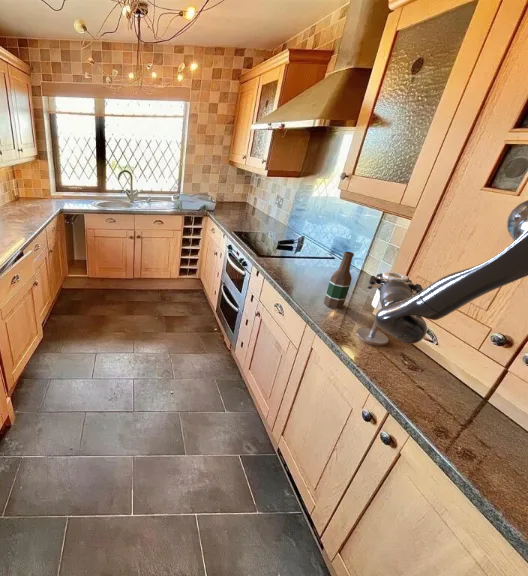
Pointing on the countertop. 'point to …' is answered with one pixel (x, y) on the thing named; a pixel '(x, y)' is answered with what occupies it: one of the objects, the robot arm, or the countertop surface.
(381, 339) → the towel stand
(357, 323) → the countertop surface
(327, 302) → the beer bottle
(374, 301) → the paper roll
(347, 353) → the countertop surface
